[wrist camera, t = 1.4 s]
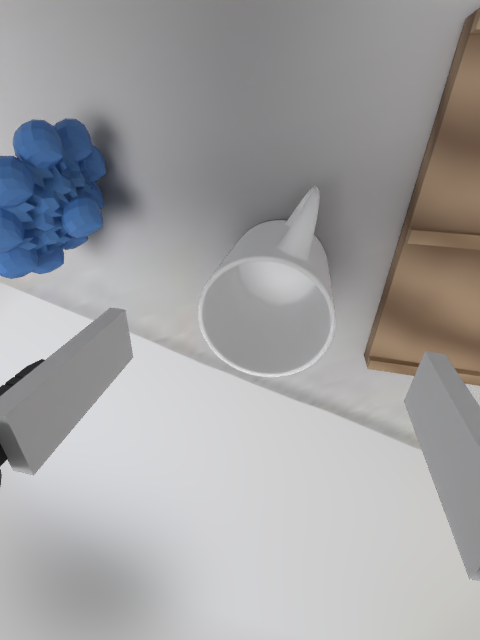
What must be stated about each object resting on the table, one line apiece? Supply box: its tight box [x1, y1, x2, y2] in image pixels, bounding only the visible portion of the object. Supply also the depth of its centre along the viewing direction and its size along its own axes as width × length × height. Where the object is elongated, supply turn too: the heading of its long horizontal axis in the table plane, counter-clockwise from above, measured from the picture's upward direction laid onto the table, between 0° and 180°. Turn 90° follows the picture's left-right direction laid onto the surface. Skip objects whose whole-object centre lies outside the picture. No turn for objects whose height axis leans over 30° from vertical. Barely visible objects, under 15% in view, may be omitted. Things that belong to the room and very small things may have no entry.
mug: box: [198, 187, 336, 377], centre depth 23 cm, size 9×12×11 cm
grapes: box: [0, 119, 106, 279], centre depth 23 cm, size 12×7×12 cm, turn 158°
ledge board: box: [364, 8, 480, 386], centre depth 23 cm, size 25×10×2 cm, turn 178°
